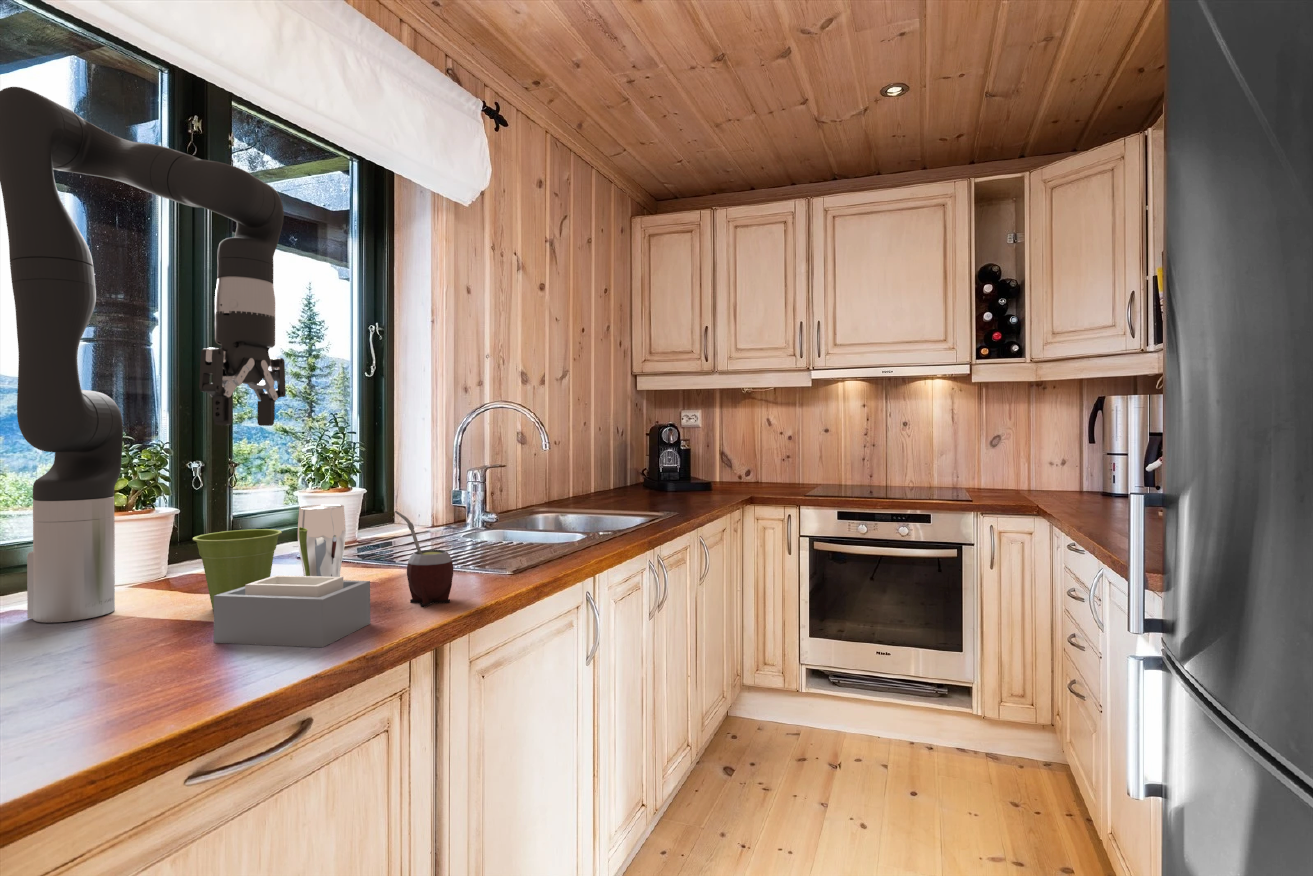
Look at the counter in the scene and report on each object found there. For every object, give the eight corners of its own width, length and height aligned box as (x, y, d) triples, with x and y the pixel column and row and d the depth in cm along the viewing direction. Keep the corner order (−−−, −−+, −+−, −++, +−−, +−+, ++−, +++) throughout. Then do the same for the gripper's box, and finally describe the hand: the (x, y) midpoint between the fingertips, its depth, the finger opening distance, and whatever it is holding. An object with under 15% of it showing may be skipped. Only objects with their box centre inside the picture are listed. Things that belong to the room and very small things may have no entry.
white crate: (317, 632, 90) (317, 586, 90) (245, 630, 91) (245, 584, 91) (343, 620, 96) (343, 576, 96) (275, 618, 97) (275, 575, 97)
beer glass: (326, 605, 108) (326, 509, 108) (287, 603, 110) (287, 508, 110) (354, 595, 115) (354, 504, 115) (317, 593, 117) (317, 504, 116)
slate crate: (322, 647, 87) (322, 599, 87) (213, 642, 89) (213, 595, 89) (370, 623, 98) (370, 581, 98) (272, 620, 100) (272, 578, 100)
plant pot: (245, 595, 115) (245, 527, 115) (299, 601, 111) (299, 531, 111) (173, 612, 104) (173, 537, 104) (231, 619, 100) (230, 541, 100)
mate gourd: (459, 597, 114) (458, 505, 114) (442, 609, 106) (442, 511, 106) (413, 597, 114) (413, 505, 114) (394, 609, 106) (394, 510, 106)
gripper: (256, 321, 108) (256, 426, 108) (182, 304, 94) (182, 424, 94) (301, 320, 107) (300, 426, 107) (232, 303, 93) (232, 424, 93)
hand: (245, 425), depth 101 cm, fingers open, 8 cm apart
